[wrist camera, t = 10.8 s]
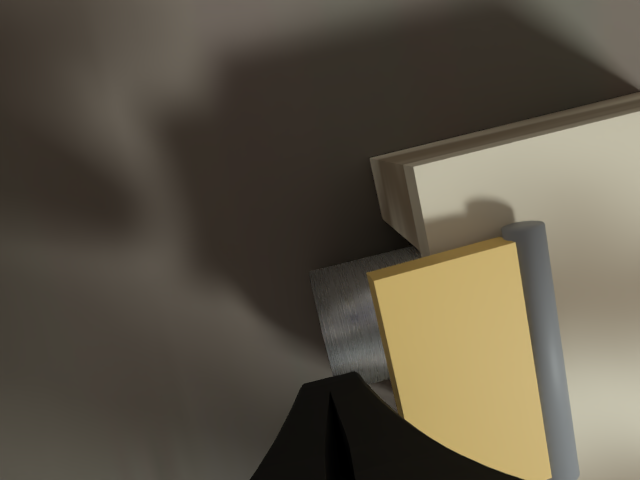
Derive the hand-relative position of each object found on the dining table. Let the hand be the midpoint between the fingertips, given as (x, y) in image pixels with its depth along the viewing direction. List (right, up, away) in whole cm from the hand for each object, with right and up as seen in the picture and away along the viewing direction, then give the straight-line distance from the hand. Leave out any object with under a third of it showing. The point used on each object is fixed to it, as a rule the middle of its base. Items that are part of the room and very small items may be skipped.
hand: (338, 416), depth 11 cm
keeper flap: (+5, +1, 0) cm, 5 cm away
